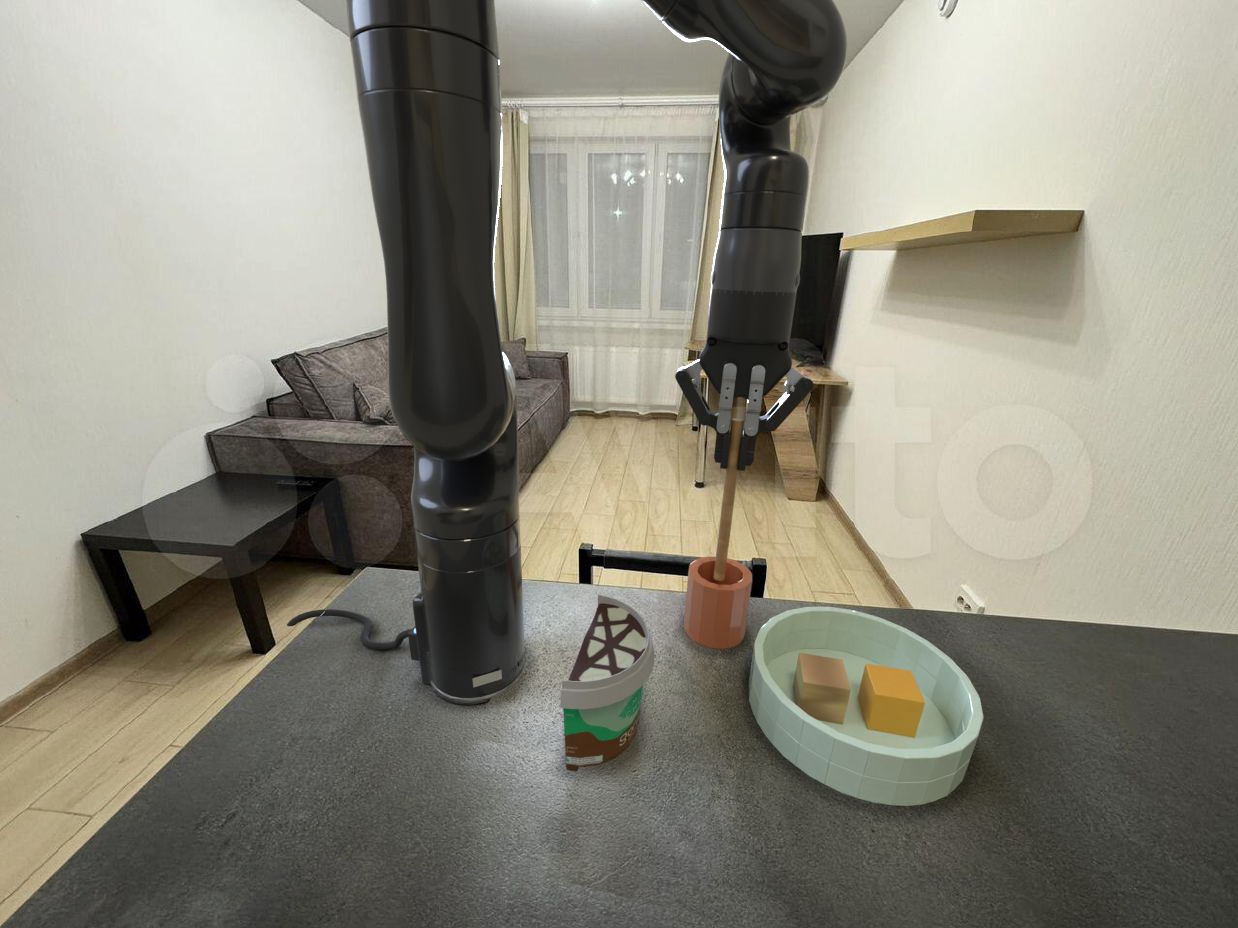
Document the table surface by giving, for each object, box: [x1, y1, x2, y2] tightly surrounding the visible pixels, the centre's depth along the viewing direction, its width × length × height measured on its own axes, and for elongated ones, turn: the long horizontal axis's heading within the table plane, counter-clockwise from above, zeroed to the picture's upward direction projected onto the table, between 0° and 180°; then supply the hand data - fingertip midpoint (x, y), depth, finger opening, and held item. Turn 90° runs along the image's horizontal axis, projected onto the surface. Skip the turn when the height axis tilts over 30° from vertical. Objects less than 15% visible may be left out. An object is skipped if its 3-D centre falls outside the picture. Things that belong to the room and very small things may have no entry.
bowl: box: [748, 606, 985, 807], centre depth 48 cm, size 19×19×6 cm
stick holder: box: [683, 556, 753, 650], centre depth 58 cm, size 7×7×8 cm
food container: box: [559, 594, 656, 772], centre depth 45 cm, size 12×6×10 cm, turn 168°
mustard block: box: [858, 664, 925, 738], centre depth 48 cm, size 4×4×4 cm
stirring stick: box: [714, 417, 745, 581], centre depth 54 cm, size 1×1×18 cm
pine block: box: [793, 653, 851, 725], centre depth 49 cm, size 4×4×4 cm
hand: (732, 466), depth 53 cm, fingers closed on stirring stick, 1 cm apart
